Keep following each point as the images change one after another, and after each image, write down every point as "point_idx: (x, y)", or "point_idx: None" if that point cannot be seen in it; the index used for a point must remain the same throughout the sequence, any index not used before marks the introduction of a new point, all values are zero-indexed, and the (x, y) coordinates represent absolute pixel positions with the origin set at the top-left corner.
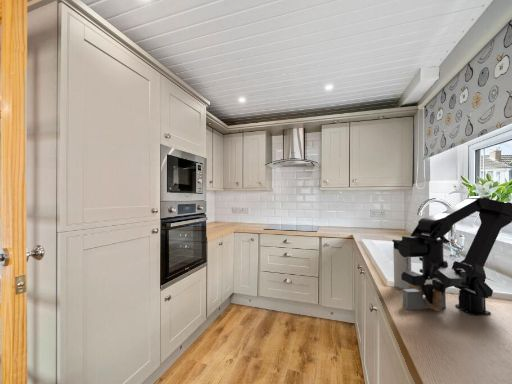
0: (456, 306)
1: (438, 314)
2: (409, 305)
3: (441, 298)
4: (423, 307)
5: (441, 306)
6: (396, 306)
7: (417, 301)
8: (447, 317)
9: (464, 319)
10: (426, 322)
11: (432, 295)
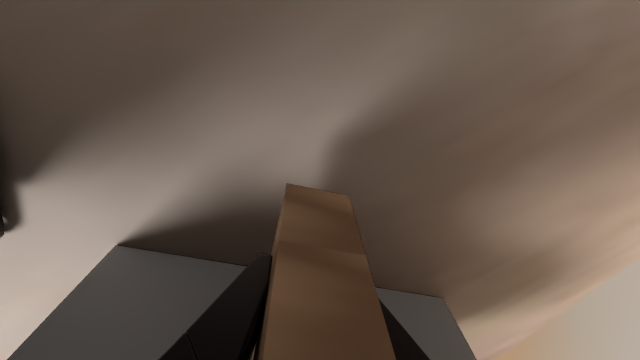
0: (1, 226)
1: None
2: (441, 321)
3: (280, 267)
4: None
5: (288, 205)
6: None
7: None
8: (276, 128)
9: (149, 45)
10: (535, 130)
11: None
